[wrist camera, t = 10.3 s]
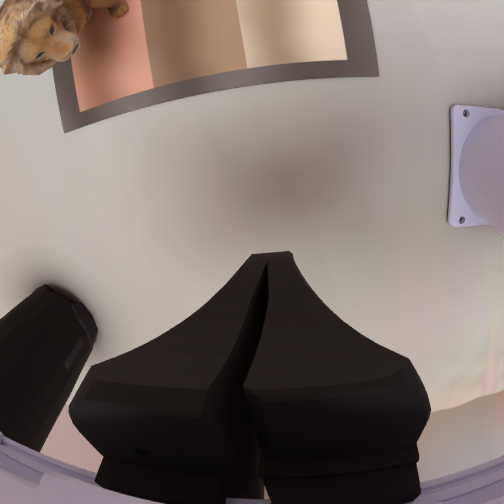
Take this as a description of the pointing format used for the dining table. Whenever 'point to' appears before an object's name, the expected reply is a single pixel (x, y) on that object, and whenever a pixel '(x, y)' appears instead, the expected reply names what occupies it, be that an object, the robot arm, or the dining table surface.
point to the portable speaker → (40, 363)
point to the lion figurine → (45, 31)
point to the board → (207, 51)
